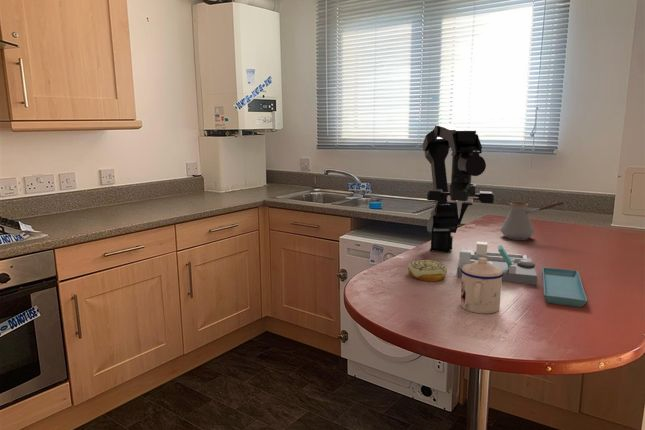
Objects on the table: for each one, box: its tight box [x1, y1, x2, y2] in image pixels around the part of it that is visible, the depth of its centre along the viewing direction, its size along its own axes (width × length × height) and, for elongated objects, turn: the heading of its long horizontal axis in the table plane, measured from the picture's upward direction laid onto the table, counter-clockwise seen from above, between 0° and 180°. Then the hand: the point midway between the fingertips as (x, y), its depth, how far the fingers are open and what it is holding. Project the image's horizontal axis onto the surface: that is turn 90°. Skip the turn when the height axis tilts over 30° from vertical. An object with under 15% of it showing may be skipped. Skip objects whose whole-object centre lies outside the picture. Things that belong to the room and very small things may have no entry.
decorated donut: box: [407, 259, 448, 282], centre depth 132 cm, size 10×11×4 cm
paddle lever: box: [497, 244, 515, 266], centre depth 130 cm, size 1×5×7 cm
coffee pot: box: [500, 201, 567, 241], centre depth 173 cm, size 21×12×15 cm, turn 57°
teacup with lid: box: [460, 257, 503, 315], centre depth 107 cm, size 12×9×12 cm
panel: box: [456, 250, 538, 286], centre depth 136 cm, size 20×18×4 cm
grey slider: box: [458, 248, 472, 264], centre depth 133 cm, size 3×3×4 cm
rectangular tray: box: [541, 267, 588, 308], centre depth 122 cm, size 26×9×2 cm, turn 156°
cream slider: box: [475, 241, 488, 255], centre depth 142 cm, size 3×3×4 cm
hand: (458, 224), depth 143 cm, fingers closed
